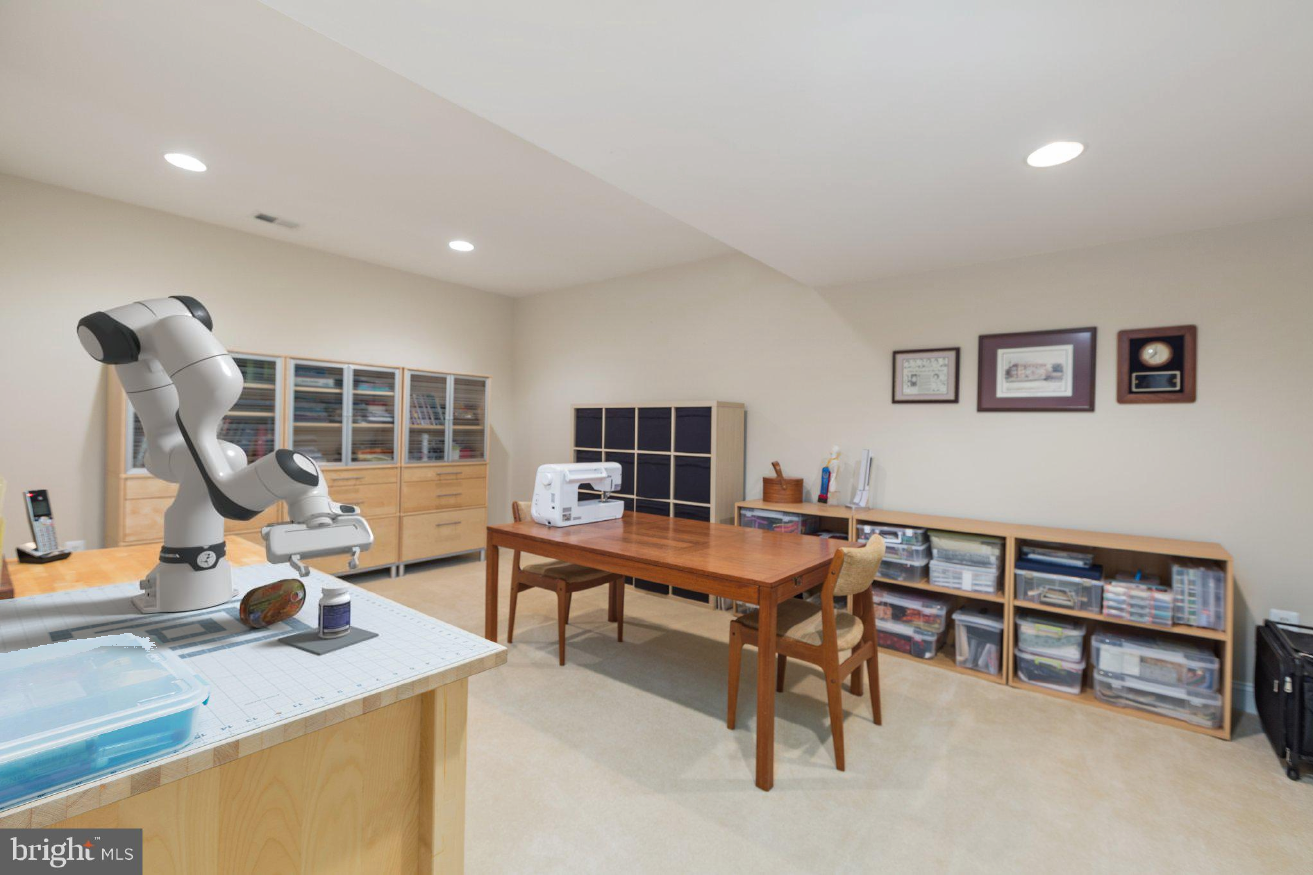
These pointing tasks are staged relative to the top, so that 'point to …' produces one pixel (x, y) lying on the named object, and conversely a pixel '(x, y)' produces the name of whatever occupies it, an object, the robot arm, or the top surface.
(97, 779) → the top surface
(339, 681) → the top surface
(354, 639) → the mat
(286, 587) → the tin
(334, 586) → the pill bottle
